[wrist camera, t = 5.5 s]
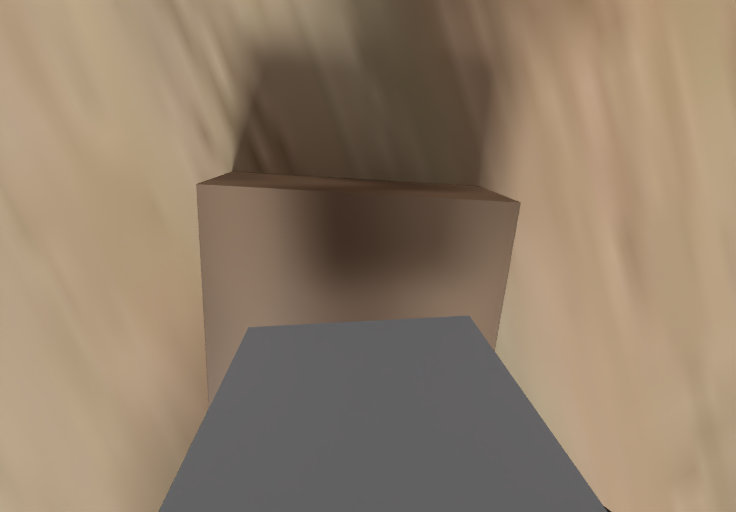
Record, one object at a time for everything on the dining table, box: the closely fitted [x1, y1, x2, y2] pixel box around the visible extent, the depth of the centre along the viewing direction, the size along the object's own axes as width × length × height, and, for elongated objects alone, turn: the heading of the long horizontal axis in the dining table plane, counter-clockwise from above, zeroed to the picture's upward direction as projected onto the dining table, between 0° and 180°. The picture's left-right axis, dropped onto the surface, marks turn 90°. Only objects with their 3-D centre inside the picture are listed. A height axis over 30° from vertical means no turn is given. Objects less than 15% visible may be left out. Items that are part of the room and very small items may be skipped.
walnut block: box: [196, 172, 521, 407], centre depth 14 cm, size 9×9×4 cm
